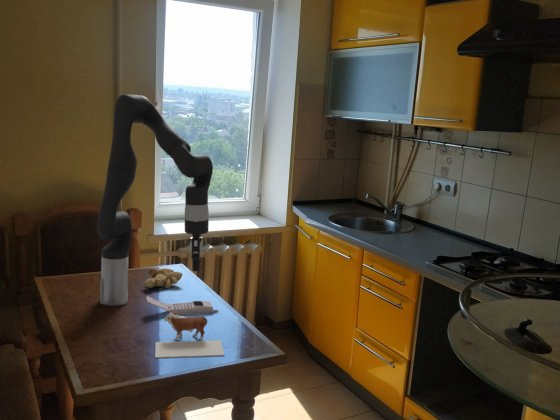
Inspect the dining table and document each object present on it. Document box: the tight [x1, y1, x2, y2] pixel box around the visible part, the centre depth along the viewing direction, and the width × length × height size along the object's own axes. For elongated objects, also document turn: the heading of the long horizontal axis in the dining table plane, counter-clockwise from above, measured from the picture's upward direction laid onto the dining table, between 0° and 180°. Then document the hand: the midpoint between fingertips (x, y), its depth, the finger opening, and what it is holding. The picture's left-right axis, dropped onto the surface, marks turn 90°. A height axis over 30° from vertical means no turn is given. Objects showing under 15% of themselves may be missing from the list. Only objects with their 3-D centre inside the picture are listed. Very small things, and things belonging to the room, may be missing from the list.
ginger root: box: [142, 267, 183, 289], centre depth 217 cm, size 16×16×8 cm
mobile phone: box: [145, 295, 219, 316], centre depth 190 cm, size 6×6×25 cm
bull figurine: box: [163, 313, 208, 342], centre depth 168 cm, size 4×13×8 cm, turn 95°
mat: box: [154, 339, 225, 359], centre depth 162 cm, size 20×10×1 cm, turn 102°
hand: (196, 267), depth 173 cm, fingers open, 8 cm apart
